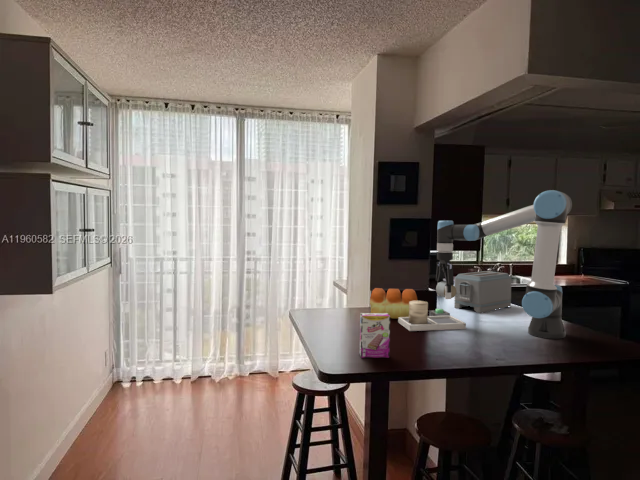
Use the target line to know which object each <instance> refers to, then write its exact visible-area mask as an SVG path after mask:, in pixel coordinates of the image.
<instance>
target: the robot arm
mask: <svg viewBox="0 0 640 480" xmlns="http://www.w3.org/2000/svg"><path fill="white" fill-rule="evenodd" d="M572 207H573V202H572V199H571V197H570V196H569V194H567V193H565V192H562V191H559V190H556V189H555V190H554V189H552V190H551V189H549V190H548V189H547V190H545V191H542V192H541V193H539V194H538V195H537V196H536V197H535V199H534V201H533V204H532V205H528V206H525V207H522V208H519V209H516V210H514V211H510V212H507V213H504V214H501V215H499V216H495V217H492V218H489V219H486V220H483V221H480V222H478V223H474V224H473V223H472V224H455V223H454V221H453V220H438V221H437V229H436V230H437V235H436V237H437V238H436V240H437V241H436V251H437V253H436V260H437V262H436V272H435V273H436V274H435V281H436V282H437V284H438V283H439V282H441V281H445V282H446V285H445V297H444V298H445V300H452V298H451V286H452V285H454V286H455V277H454V264H452V263H451V261H452V260H453V258H454V254H453V251H454V244H453V243H454V241H467V242H468V241H469V242H471V241H477V240H482V239H483V238H485V237H487V236H492V235H495V234H498V233H501V232H504V231H509V230H512V229H514V228H518V227H521V226H525V225H528V224H531V223H535V224H536V225H537V229H536V239H535V245H534V255H533V261H532V262H533V263H532V271H531V278H530V279H531V280H530V281H529V282H528V283H526V286H525V293H524V295H523V298H522V299H521V307H522V310H523V311H524V312H525V313H526V314H527V315H528V316H529V317H531V320H530V323H529V326H528V327H527V333H528V334H529V335H531V336H533V335H534V337H537V336H538V338H542V337H543V338H544V339H558V340H559V339H564V338H566V334H567V333H566V329H565V326H564V322H563V320H562V314H563V313H562V311H563V310H562V308H563V287H562V286H561V285H557V284H555V283H554V282H555V276H556V275H555V273H556V268H557V259H558V251H559V242H560V236H561V228H562V227H563V226H564V225H566V220H567V215H568V214H569V213H570V212H571V210H572ZM444 278H445V279H444ZM437 296H438V297H440V296H439V295H438V294H437Z"/></svg>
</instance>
